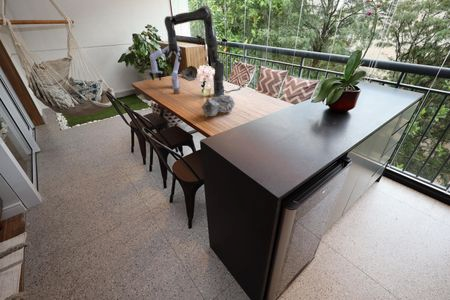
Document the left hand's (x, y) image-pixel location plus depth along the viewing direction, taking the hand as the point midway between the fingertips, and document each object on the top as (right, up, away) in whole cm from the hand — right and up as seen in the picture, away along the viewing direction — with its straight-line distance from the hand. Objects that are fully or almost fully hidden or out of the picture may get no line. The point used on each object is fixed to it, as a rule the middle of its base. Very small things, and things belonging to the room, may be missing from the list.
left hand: (156, 80), depth 217 cm
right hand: (+26, +7, -27) cm, 39 cm away
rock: (+69, -45, -50) cm, 96 cm away
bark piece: (+26, +19, +45) cm, 55 cm away
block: (+23, -16, -6) cm, 29 cm away
